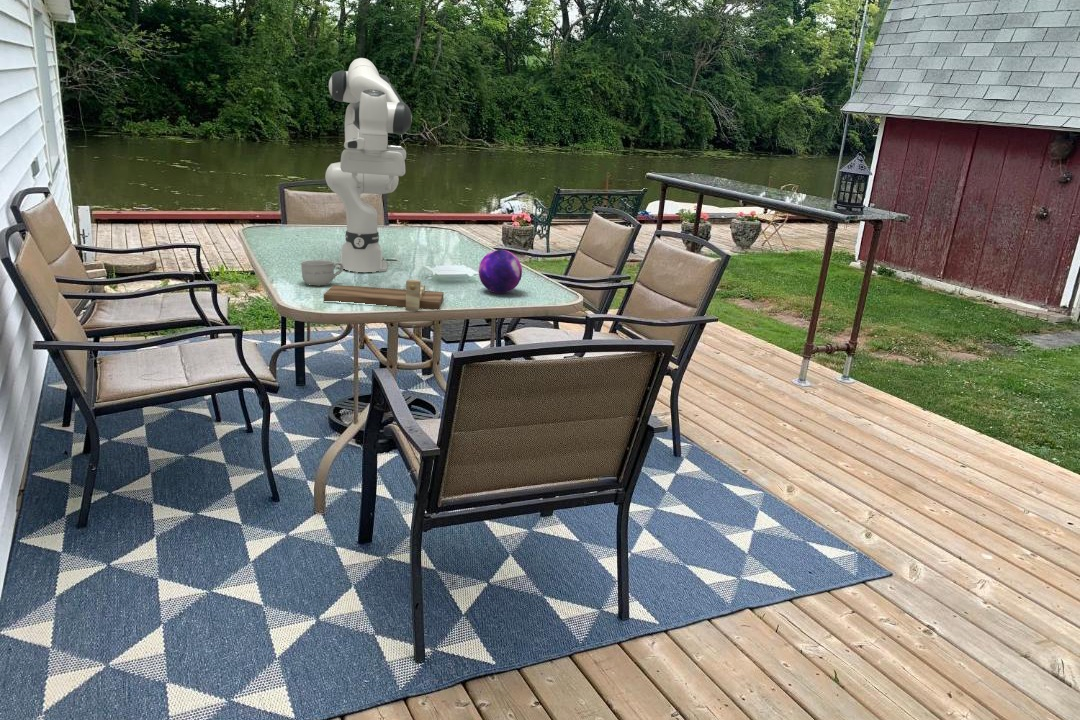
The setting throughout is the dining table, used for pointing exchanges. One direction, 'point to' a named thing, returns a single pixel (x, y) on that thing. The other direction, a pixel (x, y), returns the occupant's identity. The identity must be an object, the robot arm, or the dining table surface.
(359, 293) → the oak plank
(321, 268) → the teacup
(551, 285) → the dining table surface
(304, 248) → the dining table surface
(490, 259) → the decorative orb
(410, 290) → the marking gauge
